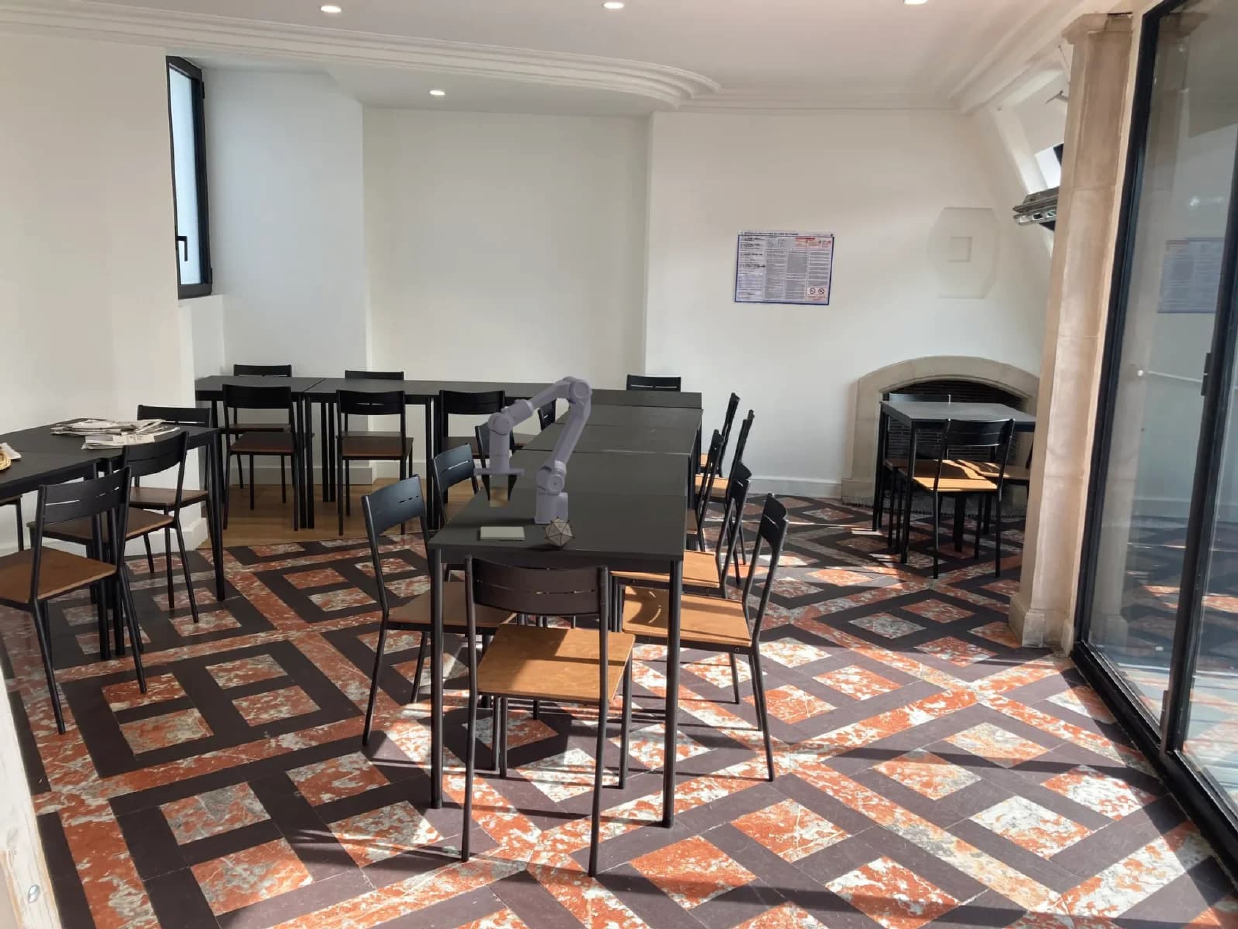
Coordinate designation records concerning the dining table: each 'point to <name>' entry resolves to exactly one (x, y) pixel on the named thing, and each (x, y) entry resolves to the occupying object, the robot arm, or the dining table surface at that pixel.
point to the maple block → (498, 496)
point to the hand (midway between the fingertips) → (498, 500)
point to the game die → (558, 532)
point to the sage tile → (502, 533)
